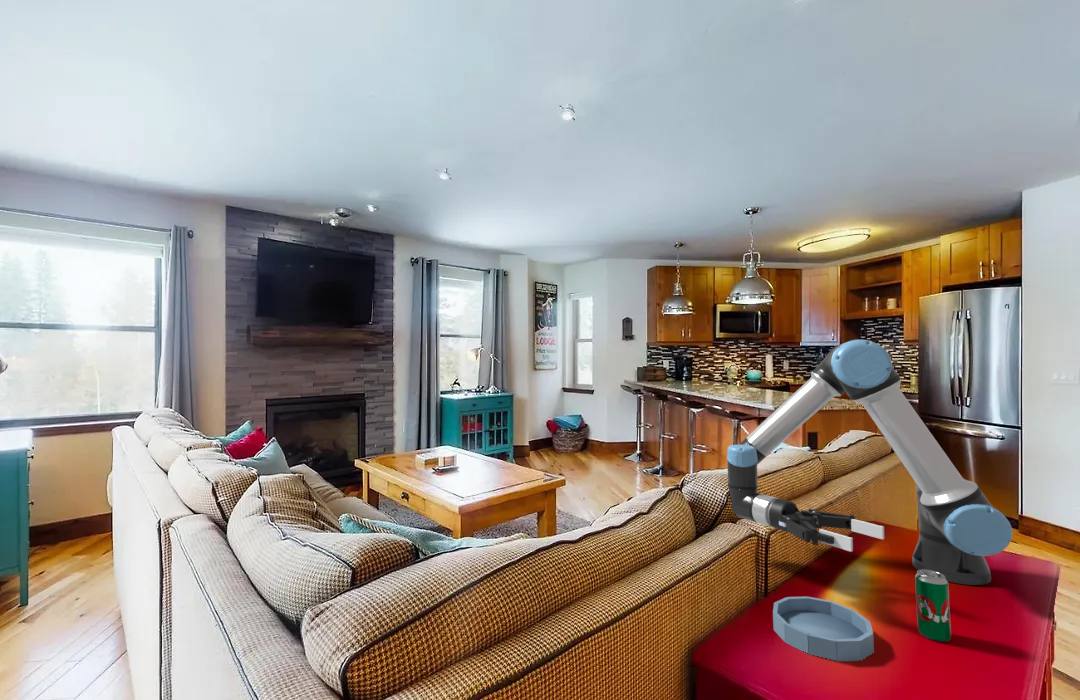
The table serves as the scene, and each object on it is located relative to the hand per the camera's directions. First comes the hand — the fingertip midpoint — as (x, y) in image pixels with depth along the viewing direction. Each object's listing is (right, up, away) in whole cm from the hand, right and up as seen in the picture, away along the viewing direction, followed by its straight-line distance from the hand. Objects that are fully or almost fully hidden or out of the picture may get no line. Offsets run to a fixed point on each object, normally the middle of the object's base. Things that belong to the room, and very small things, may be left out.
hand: (868, 538), depth 102 cm
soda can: (+6, -15, -10) cm, 19 cm away
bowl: (-15, -16, -9) cm, 24 cm away
